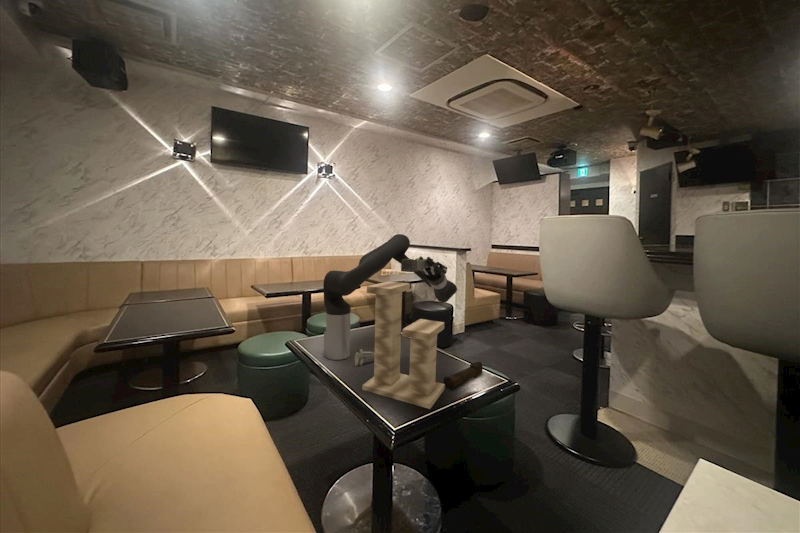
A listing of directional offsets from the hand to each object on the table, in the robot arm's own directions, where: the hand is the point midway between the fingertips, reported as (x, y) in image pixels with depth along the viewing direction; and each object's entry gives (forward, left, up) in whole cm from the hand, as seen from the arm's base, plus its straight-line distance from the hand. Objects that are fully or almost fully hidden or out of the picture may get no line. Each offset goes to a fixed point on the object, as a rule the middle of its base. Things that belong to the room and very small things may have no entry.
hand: (424, 258), depth 114 cm
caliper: (-14, -8, -39) cm, 42 cm away
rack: (+4, -24, -39) cm, 46 cm away
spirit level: (0, -4, -3) cm, 6 cm away
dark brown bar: (+19, -8, -39) cm, 45 cm away
